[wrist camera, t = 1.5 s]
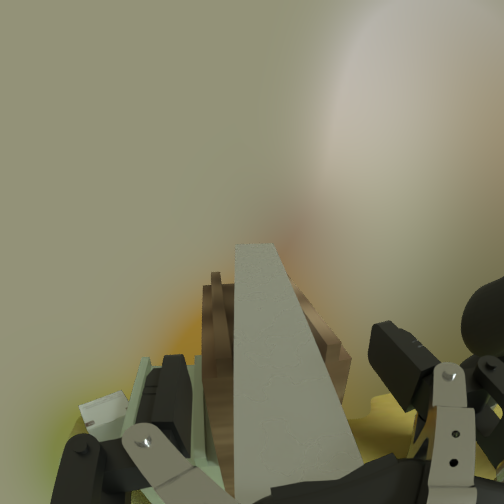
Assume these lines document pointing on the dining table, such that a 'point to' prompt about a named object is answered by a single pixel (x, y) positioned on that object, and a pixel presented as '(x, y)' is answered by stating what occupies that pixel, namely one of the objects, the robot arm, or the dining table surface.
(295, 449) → the bar
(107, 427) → the skincare box
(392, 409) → the dining table surface
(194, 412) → the light grey box
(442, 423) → the robot arm
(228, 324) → the tall wooden box
